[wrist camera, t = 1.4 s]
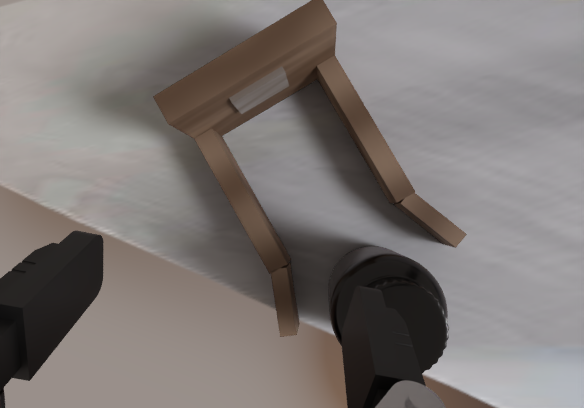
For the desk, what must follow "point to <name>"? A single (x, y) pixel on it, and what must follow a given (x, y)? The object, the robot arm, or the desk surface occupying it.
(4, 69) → the desk surface
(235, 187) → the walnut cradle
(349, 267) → the supplement bottle
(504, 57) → the desk surface
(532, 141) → the desk surface
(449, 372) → the desk surface
